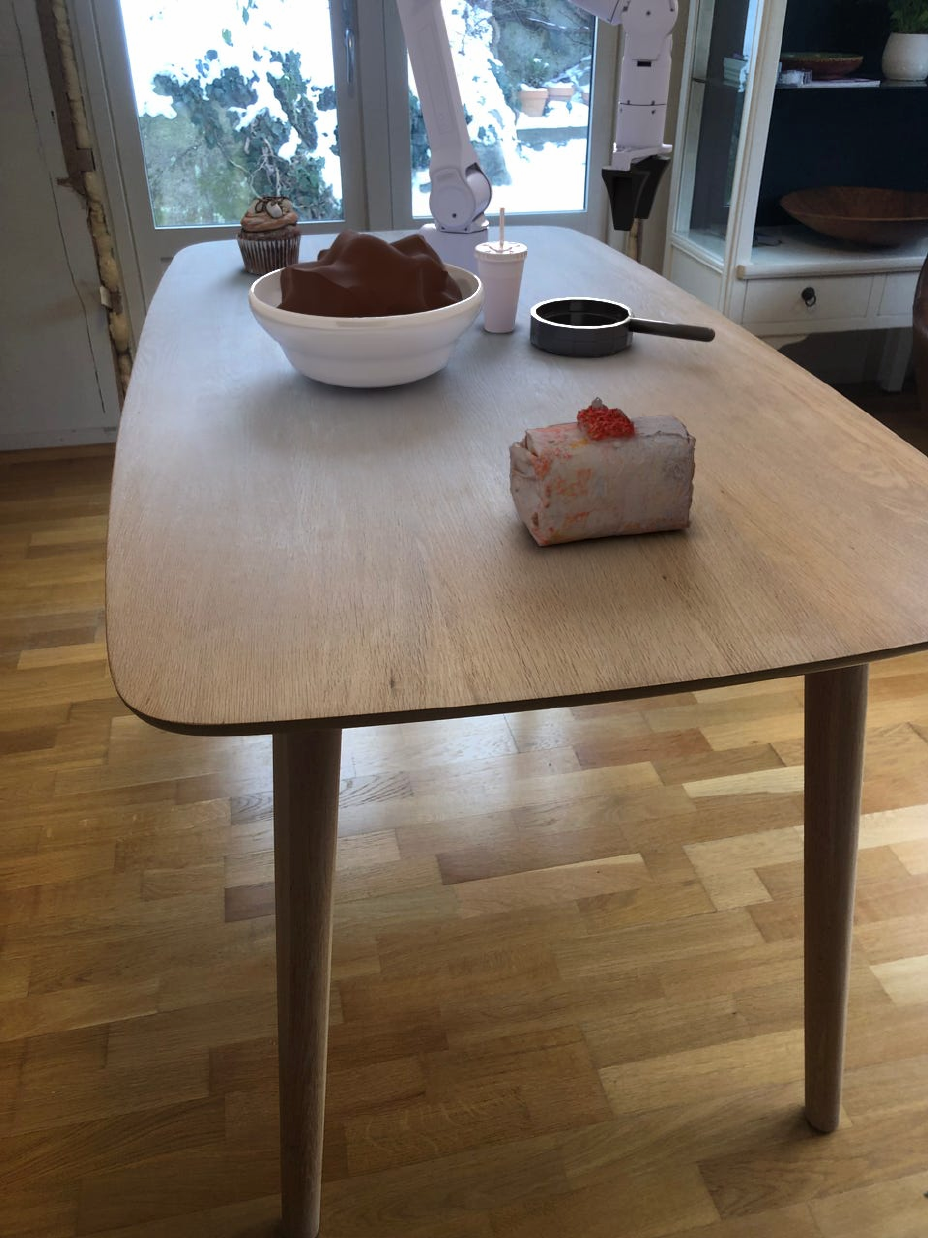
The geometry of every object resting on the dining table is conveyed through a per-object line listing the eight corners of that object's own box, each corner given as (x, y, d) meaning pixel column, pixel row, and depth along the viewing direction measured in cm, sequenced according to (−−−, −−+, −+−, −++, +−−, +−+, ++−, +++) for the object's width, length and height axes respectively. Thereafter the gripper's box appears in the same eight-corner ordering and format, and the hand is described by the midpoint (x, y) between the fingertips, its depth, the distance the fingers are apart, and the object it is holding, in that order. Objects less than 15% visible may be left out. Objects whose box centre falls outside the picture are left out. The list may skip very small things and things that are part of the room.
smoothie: (526, 321, 122) (530, 203, 114) (523, 337, 116) (528, 215, 108) (476, 319, 122) (477, 202, 114) (471, 335, 117) (472, 213, 109)
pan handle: (622, 332, 111) (623, 318, 111) (626, 328, 113) (627, 315, 112) (712, 344, 108) (714, 330, 107) (715, 340, 109) (717, 326, 108)
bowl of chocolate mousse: (212, 374, 106) (190, 230, 97) (377, 323, 121) (371, 195, 112) (363, 435, 92) (353, 273, 83) (529, 370, 107) (535, 227, 98)
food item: (528, 557, 73) (533, 436, 67) (503, 509, 79) (505, 395, 74) (695, 538, 75) (714, 420, 69) (657, 493, 81) (671, 382, 76)
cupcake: (251, 258, 148) (243, 189, 142) (312, 261, 147) (306, 191, 141) (230, 275, 140) (220, 202, 135) (294, 277, 139) (287, 203, 133)
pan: (514, 349, 113) (515, 319, 111) (550, 320, 122) (552, 292, 120) (613, 364, 108) (616, 333, 106) (643, 333, 117) (646, 304, 116)
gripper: (659, 111, 107) (646, 238, 114) (690, 98, 117) (677, 215, 125) (598, 108, 109) (590, 233, 117) (635, 95, 120) (625, 210, 127)
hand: (631, 223), depth 121 cm, fingers open, 7 cm apart
